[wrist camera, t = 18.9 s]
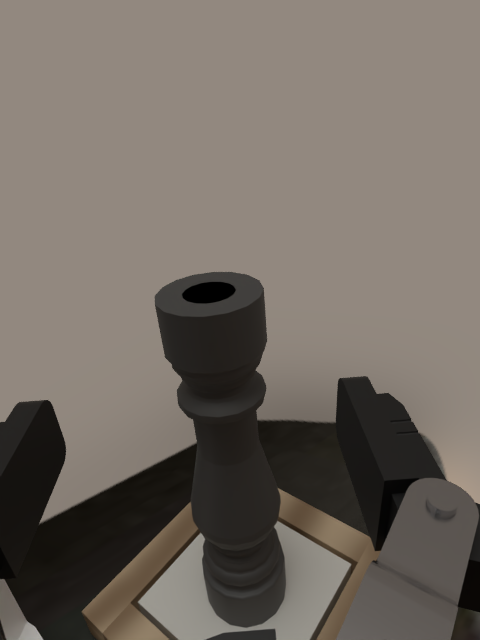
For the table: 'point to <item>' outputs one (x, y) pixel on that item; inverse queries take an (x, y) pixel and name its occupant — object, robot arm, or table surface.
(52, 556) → the table surface
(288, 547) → the platform
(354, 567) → the stand
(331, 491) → the table surface
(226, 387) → the candle holder
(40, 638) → the cylinder with rectangular tab
